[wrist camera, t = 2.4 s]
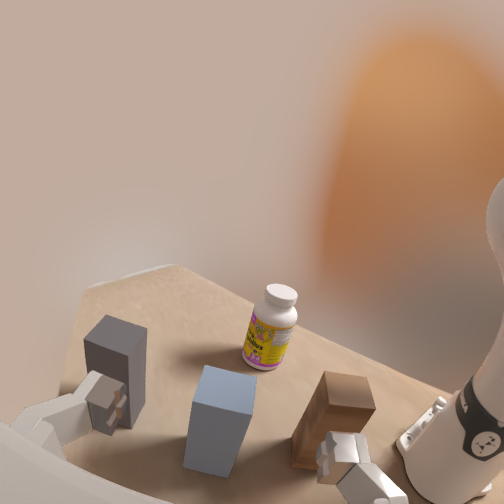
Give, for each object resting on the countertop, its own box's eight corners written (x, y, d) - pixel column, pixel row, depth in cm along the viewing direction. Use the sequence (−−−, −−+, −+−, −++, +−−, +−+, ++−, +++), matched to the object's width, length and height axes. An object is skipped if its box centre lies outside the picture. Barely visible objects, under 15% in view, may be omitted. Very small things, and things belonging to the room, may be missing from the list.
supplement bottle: (234, 348, 50) (251, 280, 46) (269, 344, 53) (288, 279, 49) (251, 375, 45) (273, 303, 41) (288, 368, 48) (312, 301, 44)
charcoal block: (110, 389, 35) (106, 314, 31) (145, 402, 35) (147, 328, 31) (94, 414, 30) (83, 338, 26) (131, 429, 30) (128, 355, 26)
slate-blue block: (192, 435, 32) (205, 364, 28) (233, 445, 32) (257, 377, 28) (182, 467, 27) (192, 400, 23) (227, 478, 27) (252, 415, 23)
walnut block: (291, 437, 34) (324, 370, 31) (327, 441, 34) (366, 377, 30) (290, 467, 30) (329, 404, 26) (330, 471, 30) (376, 409, 26)
